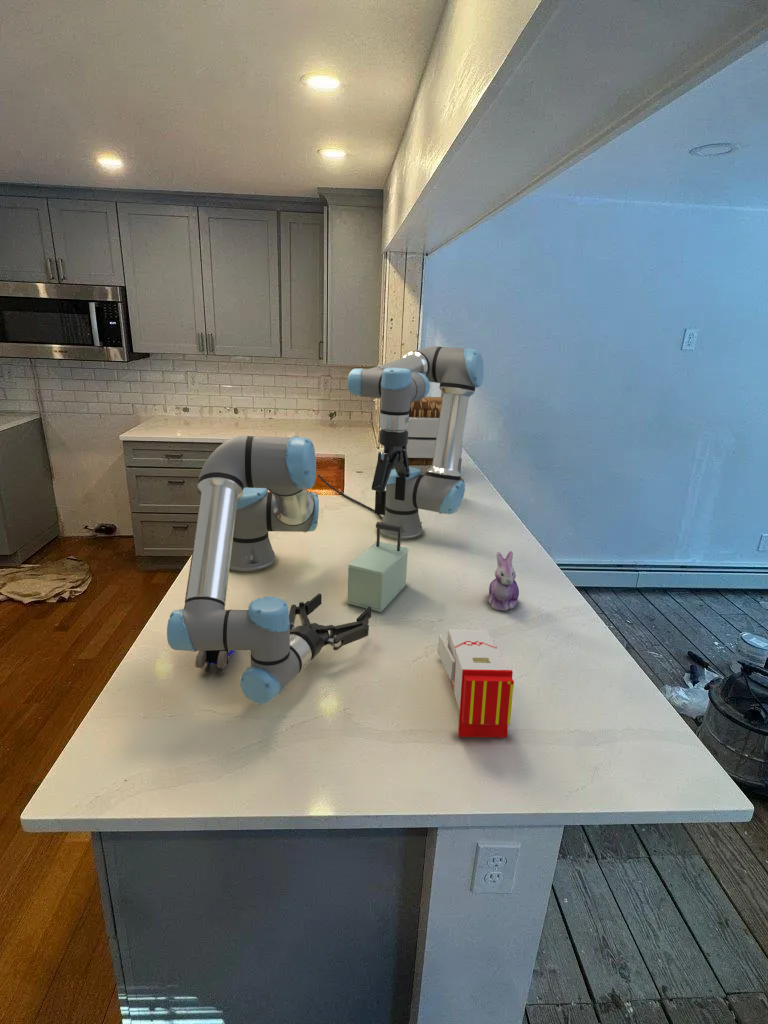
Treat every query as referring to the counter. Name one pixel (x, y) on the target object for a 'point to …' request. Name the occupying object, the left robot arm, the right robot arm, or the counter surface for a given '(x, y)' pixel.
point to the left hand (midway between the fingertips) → (344, 604)
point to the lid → (380, 553)
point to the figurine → (503, 584)
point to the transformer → (424, 431)
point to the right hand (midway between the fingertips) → (390, 506)
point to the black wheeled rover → (213, 658)
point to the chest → (376, 586)
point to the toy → (478, 682)
